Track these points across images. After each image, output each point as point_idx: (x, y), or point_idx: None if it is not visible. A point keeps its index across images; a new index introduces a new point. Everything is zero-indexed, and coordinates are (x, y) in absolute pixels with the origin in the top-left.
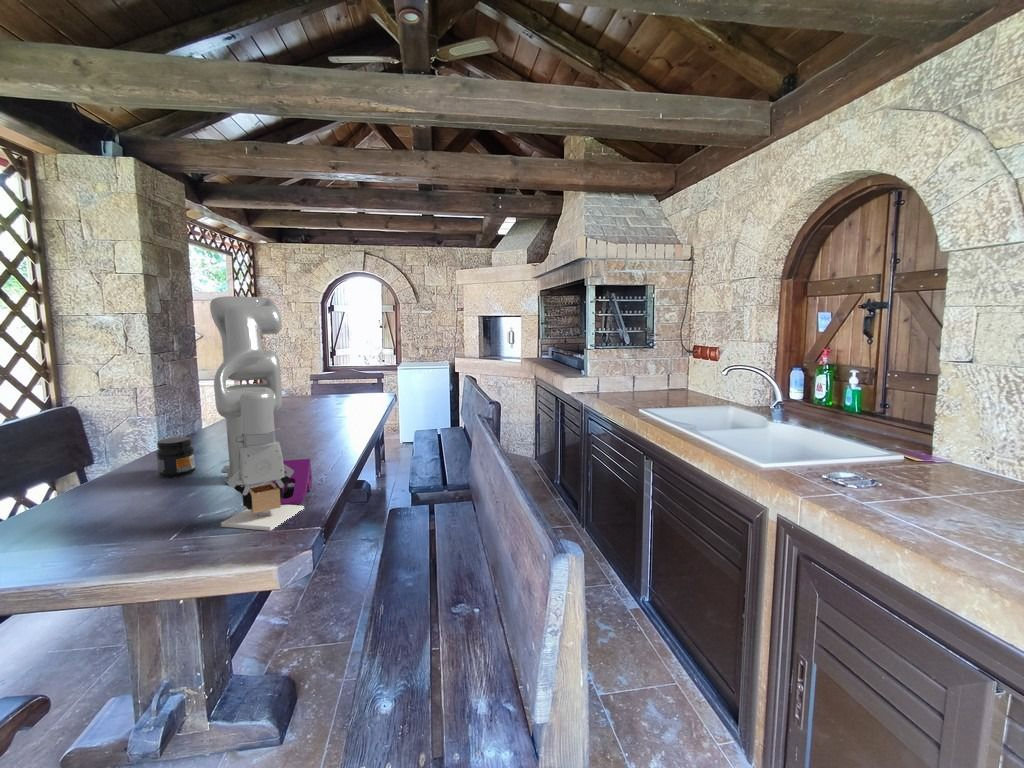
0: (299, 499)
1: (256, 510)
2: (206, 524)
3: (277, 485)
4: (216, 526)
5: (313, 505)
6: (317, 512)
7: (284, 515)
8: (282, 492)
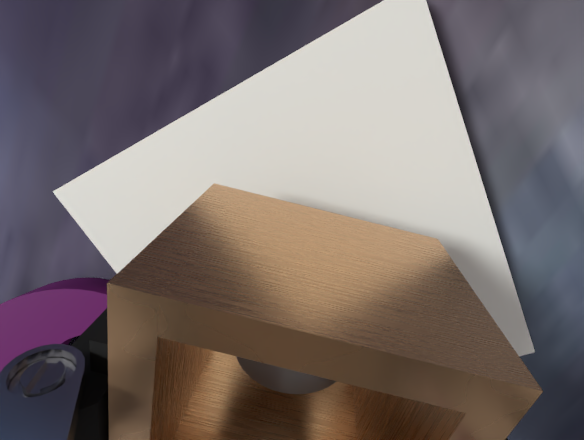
0: (47, 288)
1: (413, 242)
2: (532, 410)
3: (90, 416)
4: (529, 354)
5: (6, 197)
6: (8, 47)
7: (221, 134)
8: (106, 311)
